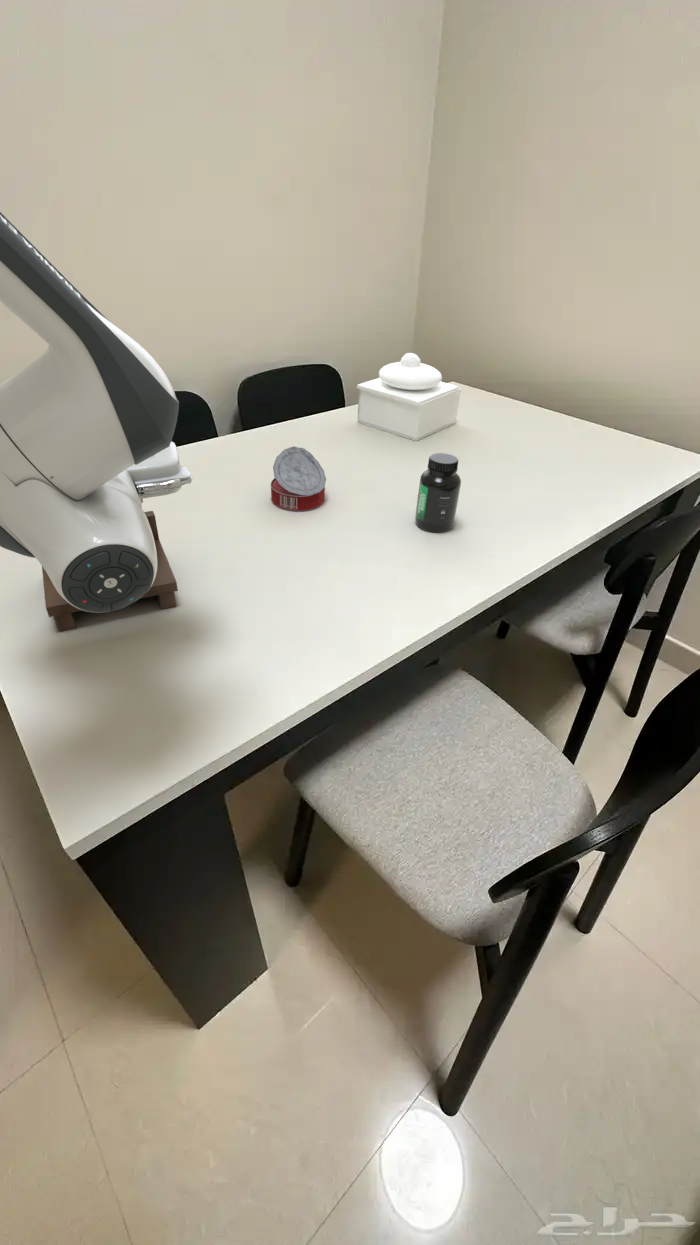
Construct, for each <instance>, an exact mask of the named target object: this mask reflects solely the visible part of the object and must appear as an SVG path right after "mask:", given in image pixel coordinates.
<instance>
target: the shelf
mask: <svg viewBox="0 0 700 1245" xmlns="http://www.w3.org/2000/svg"><path fill="white" fill-rule="evenodd" d="M144 513H145V515H146V517H147V519H148V521H149V524H150V527H151V530H152V534H153V537H154V541H155V546H156V552H157V573H156V577H155V580H154V582H153V584H152V586H151V588H150V589H149V591H148V592H147V593H146V594H145V595H144V596H142V597H141V598H140V599H145V598H150V597H155V596H157V600H158V602H159V605H160V608H161V610H166V609H171V608H175V607H177V600H176V595H175V592H178V591H179V590H178V584H177V580H176V577H175V574H174V572H173V571H172V568H171V565H170V562H169V560H168V557H167V555H166V552H165V550H164V548H163V544H162V543H161V541H160V536H159V530H158V525H157V519H156V514H155V512H154V510H148V511H144ZM41 570H42V571H41V572H42V582H43V591H44V603H45V610H46V613H47V616H48V618H53V620H54V622H55V625H56V628H57V631H58V632H64V631H68V630H74V629H76V624H75V617H74V613H76V612H81V611H83V610H80V609H78V608H76V607H74V606H72V605H71V604H69V603H68V602H67V601H66V600H65V599H64V598H63V597H62V596H61V595H60V594H59V593H58V591H57V590H56V588H55V587H54V585H53V583H52V581H51V579H50V578H49V576H48V574H47V572H46V571H45V569H44V568H43V566H42V565H41Z"/></svg>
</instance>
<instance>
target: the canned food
mask: <svg viewBox="0 0 700 1245" xmlns="http://www.w3.org/2000/svg"><path fill="white" fill-rule="evenodd" d="M272 471H273V477H274V478H273V479H272V480H271V482H270V496H271V498H270V500H271V503H272V504H273V505H274V506H275V507H277V508H279V509H281V510H284V511H289V512H308V511H312V510H316V509H318V508H320V507H321V506H323V505H324V503H325V497H326V496H325V495H326V490H325V489H326V482H327V477H326V473H325V470H324V469H323V467H322V465H321V464H320V462H319V460H317V458H315V457H314V455H313V454H312V453H311V452H310V451H309V450H307V449H306V448H304V447H298V446H291V447H287V448H285V449H283V450H282V451H281V452H280V453H279V454H278V455H277V456H276V457H275V460H274V462H273V465H272Z"/></svg>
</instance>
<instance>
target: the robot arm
mask: <svg viewBox="0 0 700 1245" xmlns="http://www.w3.org/2000/svg"><path fill="white" fill-rule="evenodd" d="M0 303H1V304H2V305H3V306H4V307H5V308H7V309H8V310H9V311H10V312H11V313H12V314H14V315H15V316H16V317H17V318H18V319H19V320H21V321H22V322H23V323H24V324H25V325H26V326H27V327H29V328H30V329H31V330H32V331H33V332H34V333H35V334H36V335H37V336H39V337H40V338H41V339H42V340H43V341H44V342H46V343H47V344H48V346H47V349H46V350H45V352H44V353H43V354H42V355H41V356H39V357H38V358H37V359H35V360H34V361H32V362H31V363H29V364H27V365H26V366H25V367H24V368H22V369H20V370H19V371H18V372H16V373H14V374H13V375H11V376H10V377H8V378H7V379H5V380H4V381H3V382H1V383H0V547H1V548H3V549H5V550H8V551H10V552H13V553H16V554H19V555H22V556H25V557H28V558H33V559H36V560H37V562H39V564H40V565H41V567H42V566H43V568H44V569H45V571H46V572H47V574H48V576H49V578H50V579H51V581H52V583H53V585H54V587H55V588H56V590H57V591H58V593H59V594H60V595H61V596H62V597H63V598H64V599H65V600H66V601H67V602H68V603H69V604H71V605H72V606H74V607H76V608H78V609H80V610H82V611H83V612H87V613H88V612H89V613H96V614H103V613H104V614H105V613H111V612H112V613H113V612H116V611H120V610H123V609H125V608H127V607H130V605H132V604H135V603H136V602H137V601H139V600H140V599H142V598H141V597H142V596H144V595H145V594H146V593H147V592H148V591H149V589H150V588H151V586H152V584H153V582H154V580H155V577H156V573H157V552H156V546H155V541H154V537H153V534H152V530H151V527H150V524H149V521H148V519H147V517H146V515H145V513H144V512H145V511H144V510H143V506H142V504H143V503H141V501H140V499H143V500H144V499H149V498H155V497H163V496H168V495H172V494H173V495H174V494H175V493H177V492H179V491H180V490H181V489H182V486H184V485H189V484H191V483H192V480H193V476H192V474H191V472H190V470H189V468H187V467H186V466H183V465H181V461H180V456H179V450H178V448H177V445H176V443H175V442H174V441H172V440H173V437H174V434H175V431H176V426H177V422H178V417H179V410H180V408H179V407H180V401H179V400H178V398H177V396H176V393H175V390H174V388H173V385H172V383H171V381H170V380H169V378H168V376H167V375H166V373H165V372H164V370H163V369H162V367H161V366H160V364H159V363H158V362H157V360H156V359H154V357H153V356H152V355H151V354H150V353H149V352H148V351H147V350H146V349H145V348H144V347H143V346H142V345H141V344H140V343H138V341H136V340H135V339H133V337H131V336H130V335H129V334H127V333H125V332H124V331H123V330H121V329H120V328H119V327H117V326H116V325H115V324H113V323H112V322H111V321H110V320H109V319H108V318H107V317H106V316H105V315H104V314H103V313H102V312H100V310H99V309H98V308H97V307H95V306H94V304H93V303H91V302H90V301H89V300H88V299H87V298H86V297H85V296H84V294H82V293H81V292H80V291H79V290H78V289H77V287H75V286H74V285H73V284H72V283H71V281H69V280H68V279H67V278H66V276H64V275H63V274H62V273H61V272H60V270H58V268H56V266H54V264H53V263H51V262H50V260H48V259H47V258H46V256H44V255H43V253H42V252H40V250H39V249H38V248H36V246H35V245H34V244H33V243H32V242H31V241H30V240H29V239H27V237H26V236H24V234H22V232H21V231H20V230H19V229H18V228H17V227H16V226H15V225H14V224H13V223H12V222H11V221H10V220H9V219H8V218H7V217H6V216H5V215H4V214H3V212H1V211H0Z"/></svg>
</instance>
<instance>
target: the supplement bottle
mask: <svg viewBox="0 0 700 1245" xmlns="http://www.w3.org/2000/svg"><path fill="white" fill-rule="evenodd" d="M458 470H459V458H458V457H457V456H455V455H453V454H450V453H445V452H436V453H432V454H430V455H429V458H428V463H427V469H426V470H425V471H423V472H422V473H421V475H420V479H419V485H418V493H417V501H416V509H415V516H414V522H415V524H416V526H418V528H420V529H421V530H423V531H426V532H431V533H445V532H448V531H449V530H451V529H452V528H453V527H454V524H455V520H456V514H457V507H458V503H459V498H460V493H461V492H460V490H461V485H462V479H461V476H460V475H459V474H458V473H457V472H458Z"/></svg>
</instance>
